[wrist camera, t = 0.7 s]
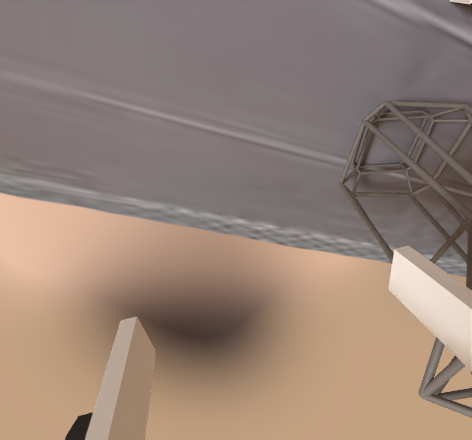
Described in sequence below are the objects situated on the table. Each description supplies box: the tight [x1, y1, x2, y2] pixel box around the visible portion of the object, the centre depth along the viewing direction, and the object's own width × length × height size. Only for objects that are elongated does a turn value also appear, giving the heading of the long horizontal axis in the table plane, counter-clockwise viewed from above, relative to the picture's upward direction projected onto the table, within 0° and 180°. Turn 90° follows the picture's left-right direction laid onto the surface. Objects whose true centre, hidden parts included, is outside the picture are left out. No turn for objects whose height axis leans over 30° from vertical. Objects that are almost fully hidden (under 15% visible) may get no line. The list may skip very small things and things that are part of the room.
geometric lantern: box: [339, 101, 472, 418], centre depth 23 cm, size 16×16×35 cm
